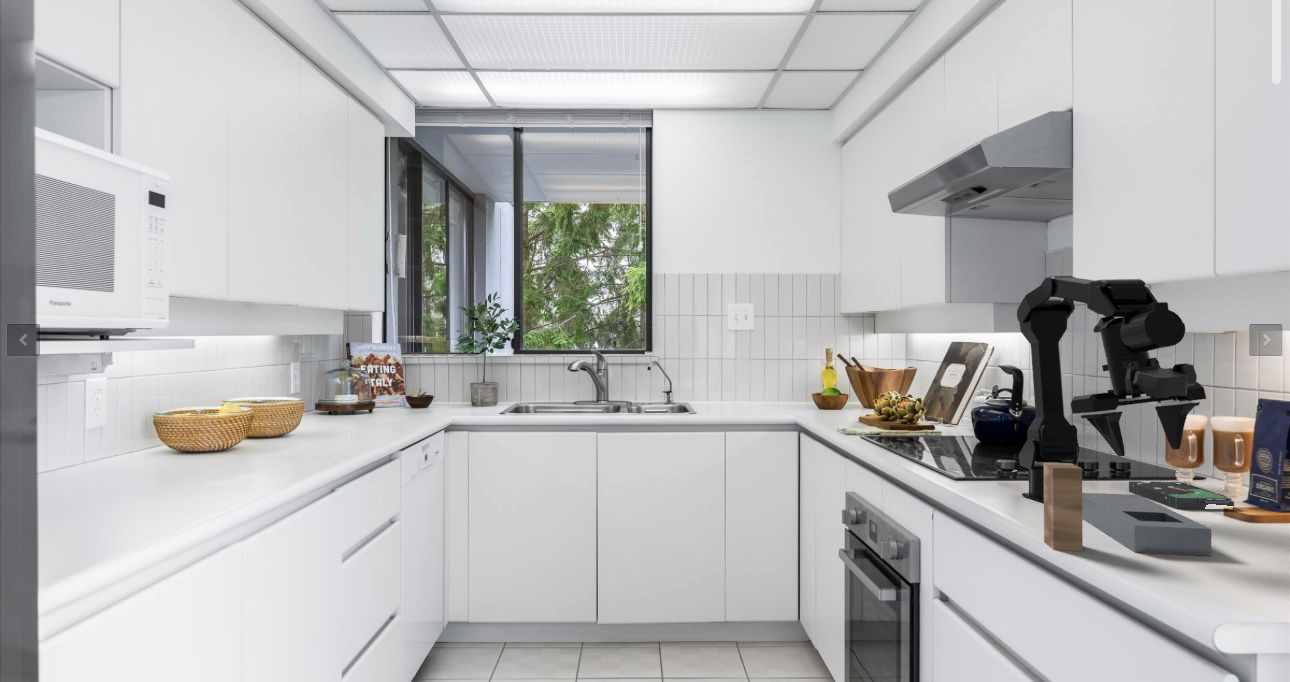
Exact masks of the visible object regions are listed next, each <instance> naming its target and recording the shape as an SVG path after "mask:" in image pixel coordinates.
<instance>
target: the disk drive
mask: <svg viewBox="0 0 1290 682" xmlns="http://www.w3.org/2000/svg"><path fill="white" fill-rule="evenodd" d="M1128 492H1129V493H1131V494H1132V495H1140V496H1142V497H1144V498H1146V499H1148V500H1151V501H1153V502H1155V503H1157V504H1160V505H1162V506H1163V505H1164V506H1166V507H1167V508H1168V507H1169V508H1172V509H1173V510H1190V511H1191V510H1194V511H1197V510H1198V511H1201V510H1204V511H1205V507H1206V505H1208V504H1216V505H1227V506H1234V507H1235V501H1233V500H1232V498H1231V497H1229V496H1227V495H1225V494H1220V493H1217V492H1214V491H1212V490H1211V491H1210V490H1208V489H1204V488H1201V487H1198V486H1195V485H1193V484H1189V483H1185V482H1181V481H1150V482H1143V481H1139V480H1138V481H1131V480H1130V481H1128Z"/></svg>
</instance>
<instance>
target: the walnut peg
mask: <svg viewBox="0 0 1290 682" xmlns="http://www.w3.org/2000/svg"><path fill="white" fill-rule="evenodd" d="M1082 493H1083V468H1082V467H1080V466H1078V465H1077V464H1076V465H1074V464H1071V463H1044V502H1043V542H1044V543H1045V544H1046V545H1047V546H1048V547H1050V548H1051V549H1052V550H1054V551H1072V552H1073V551H1074V552H1075V551H1076V552H1083V549H1084V548H1083V546H1084V545H1083V519H1082Z"/></svg>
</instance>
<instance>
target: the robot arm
mask: <svg viewBox="0 0 1290 682" xmlns="http://www.w3.org/2000/svg"><path fill="white" fill-rule="evenodd" d="M1052 298H1055V299H1052ZM1056 298H1057V299H1056ZM1061 299H1063V300H1061ZM1075 302H1077V303H1078V302H1079V303H1084V304H1086V307H1087V309H1088V310H1090V311H1091V312H1094V313H1096V315H1097V314H1098V315H1101V316H1104V317H1099V322H1098V323H1097V324H1096V325H1095V326H1094V328H1093V331H1092V332H1093V333H1095V334H1099V333H1100V336H1101V340H1102V345H1103V349H1104V354H1105V359H1106V364H1102V366H1101V367H1102V372H1108V374H1109V377H1110V382H1111V386H1112V389H1107V392H1100V393H1093V394H1092V393H1091V394H1084V395H1077V396H1076V395H1075V396H1073V397H1072V400H1071V401H1070V402H1071V403H1070V409H1071V413H1072V414H1073V415H1075V414H1082V415H1080V418H1081V419H1086V420H1087V421H1088V422H1089V424H1091V425H1092V426H1093V428H1095V430H1097V431H1098V433H1099V434H1100V435H1101V436H1102V438H1103V440H1105V441H1106V442H1107V444H1108V446H1109V447H1110V448H1111V449H1112V450H1113V452H1114V453H1115V454H1116V455H1117V456H1118V457H1125V456H1126V455H1125V454H1126V453H1125V445H1124V440H1123V436H1122V431H1121V426H1120V419H1121V417H1122V415H1123V411H1116V410H1117V409H1118V407H1123V406H1131V405H1136V404H1148V403H1155V402H1157V403H1159V404H1160V405H1157V406H1154V408H1155V411H1156V414H1157V417H1158V419H1159V421H1160V424H1161V427H1162V428H1163V432H1164V434H1165V437H1166V439H1167V442H1168V444H1169V445H1170V447H1171V449H1172V450H1173V451H1175V450H1177V451H1179V450H1180V449H1181V445H1182V439H1183V434H1184V429H1185V425H1186V420H1187V417H1188V414H1189V413H1190V412H1191V411H1192V410H1193V409H1194V408H1195V407H1198V406H1199V405H1200V404H1201V403H1200V400H1207V395H1206V391H1205V387H1204V386H1203V385H1202V384H1200V383H1199V382H1198V381H1197V378H1198V376H1197V373H1196V369H1195V367H1194V364H1191V363H1186V362H1185V363H1176V364H1174V365H1173V367H1172V368H1171V367H1169V368H1164V367H1161V365H1160V361H1159V360H1158V359H1157V357H1151V356H1150V354H1149V353H1150V351H1155V350H1159V349H1164V348H1168V347H1169V348H1170V347H1174V346H1176V345H1178V344H1179V343H1181V341H1182V340H1183V338H1184V337H1185V334H1186V324H1185V323H1184V321H1183V320H1182V318H1181V317H1180V316H1179V314H1177V313H1176V312H1174V311H1172V310H1170V309H1169V304H1168V303H1169V302H1167V301H1166V302H1165V301H1158V300H1157V299H1156V297H1155V295H1154V294H1153V293H1152V292H1151V290H1150V289H1149V287H1147V286H1146V282H1145V281H1144V280H1143V279H1140V278H1134V279H1133V278H1132V279H1131V278H1127V279H1126V278H1125V279H1121V278H1118V279H1116V278H1115V279H1096V280H1094V279H1087V278H1079V277H1075V276H1072V275H1050V276H1048V277H1045V278H1044V279H1043V281H1042V282H1041V284H1040V285H1039V286H1037V287H1036V288H1035V289H1033V290H1031V291H1030V292H1028V293H1027V294H1026V295H1024V298H1022V301H1021V302H1020V303H1019V306H1018V308H1017V310H1016V318H1017V322H1019V330H1020V332H1021V334H1022V335H1023V336H1024V338H1025V339H1026V341H1027V342H1028V344H1029V345H1030V352H1031V355H1030V356H1031V368H1032V381H1033V395H1034V396H1033V397H1034V411H1035V418H1034V419H1033V421H1032V422H1031V424H1030V425H1029V427H1028V429H1027V437H1026V438H1027V439H1026V441H1025V443H1024V445H1023V447H1022V448H1021V450H1020V451H1019V453H1018V461H1019V466H1020V467H1023V468H1026V469H1028V492H1022V493H1021V496H1023V497H1025V498H1029V499H1031V500H1035V501H1038V502H1041V503H1044V463H1071V464H1074V465H1076V466H1077V464H1078V463H1077V462H1078V459H1079V458H1078V457H1079V453H1080V444H1079V440H1078V429H1077V426H1076V425H1075V424H1071V423H1070V422H1069V421H1068V419H1067V418H1066V416H1065V411H1064V410H1065V409H1064V395H1063V380H1062V369H1061V368H1062V367H1061V353H1060V341H1061V339H1062V338H1063V336H1064V335H1065V333H1066V332H1067V330H1068V319H1069V318H1070V317H1071V315H1072V314H1073V313H1074V311H1075V310H1076V306H1075ZM1143 395H1145V396H1143ZM1129 396H1130V397H1131V398H1130V397H1129ZM1127 397H1128V398H1127ZM1193 401H1198V402H1193Z"/></svg>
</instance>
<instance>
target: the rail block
mask: <svg viewBox="0 0 1290 682" xmlns="http://www.w3.org/2000/svg"><path fill="white" fill-rule="evenodd" d="M1083 520H1084V522H1086V523H1089V525H1091V526H1093V527H1095V528H1096V529H1098V530H1099V531H1101V532H1102V533H1104V534H1105V535H1106V536H1108V537H1111V538H1112V539H1113V540H1115V541H1116V542H1118V543H1119V544H1121V545H1122V546H1124V547H1126V548H1128V549H1129V550H1130V551H1132V552H1134V553H1143V554H1164V555H1183V556H1203V557H1212V528H1211V527H1208V526H1206V525H1204V524H1202V523H1199V522H1197V521H1195V520H1193V519H1191V518H1189V517H1187V516H1184V515H1182V514H1180V513H1179V512H1177V511H1174V510H1172V509H1170V508H1168V507H1167V506H1166V507H1165V506H1163V505H1162V504H1160V503H1158V502H1155V501H1153V500H1150V499H1147V498H1145V497H1142V496H1140V495H1136V494H1133V493H1131V494H1130V493H1129V494H1127V493H1126V494H1125V493H1103V492H1102V493H1101V492H1100V493H1098V492H1097V493H1096V492H1082V521H1083Z"/></svg>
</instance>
